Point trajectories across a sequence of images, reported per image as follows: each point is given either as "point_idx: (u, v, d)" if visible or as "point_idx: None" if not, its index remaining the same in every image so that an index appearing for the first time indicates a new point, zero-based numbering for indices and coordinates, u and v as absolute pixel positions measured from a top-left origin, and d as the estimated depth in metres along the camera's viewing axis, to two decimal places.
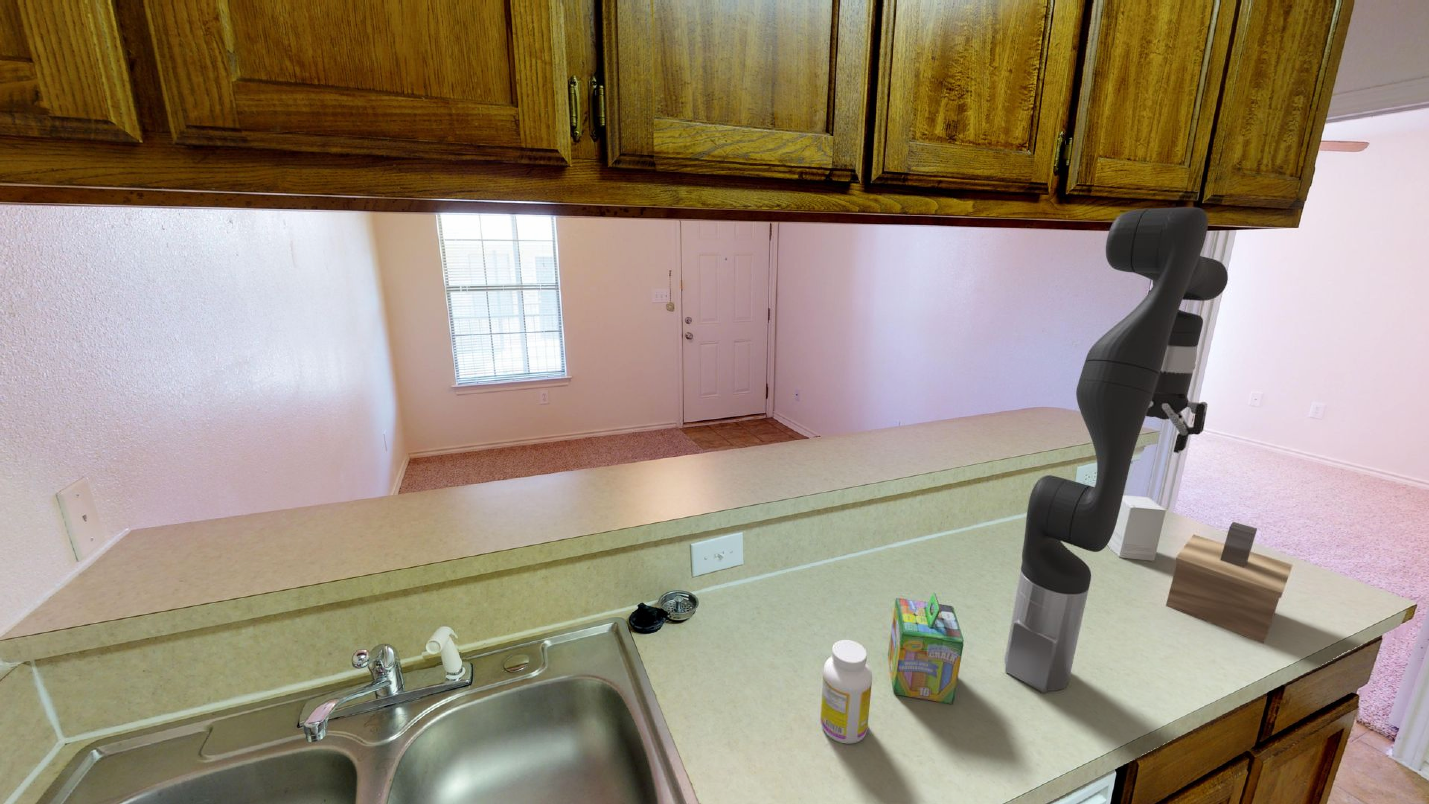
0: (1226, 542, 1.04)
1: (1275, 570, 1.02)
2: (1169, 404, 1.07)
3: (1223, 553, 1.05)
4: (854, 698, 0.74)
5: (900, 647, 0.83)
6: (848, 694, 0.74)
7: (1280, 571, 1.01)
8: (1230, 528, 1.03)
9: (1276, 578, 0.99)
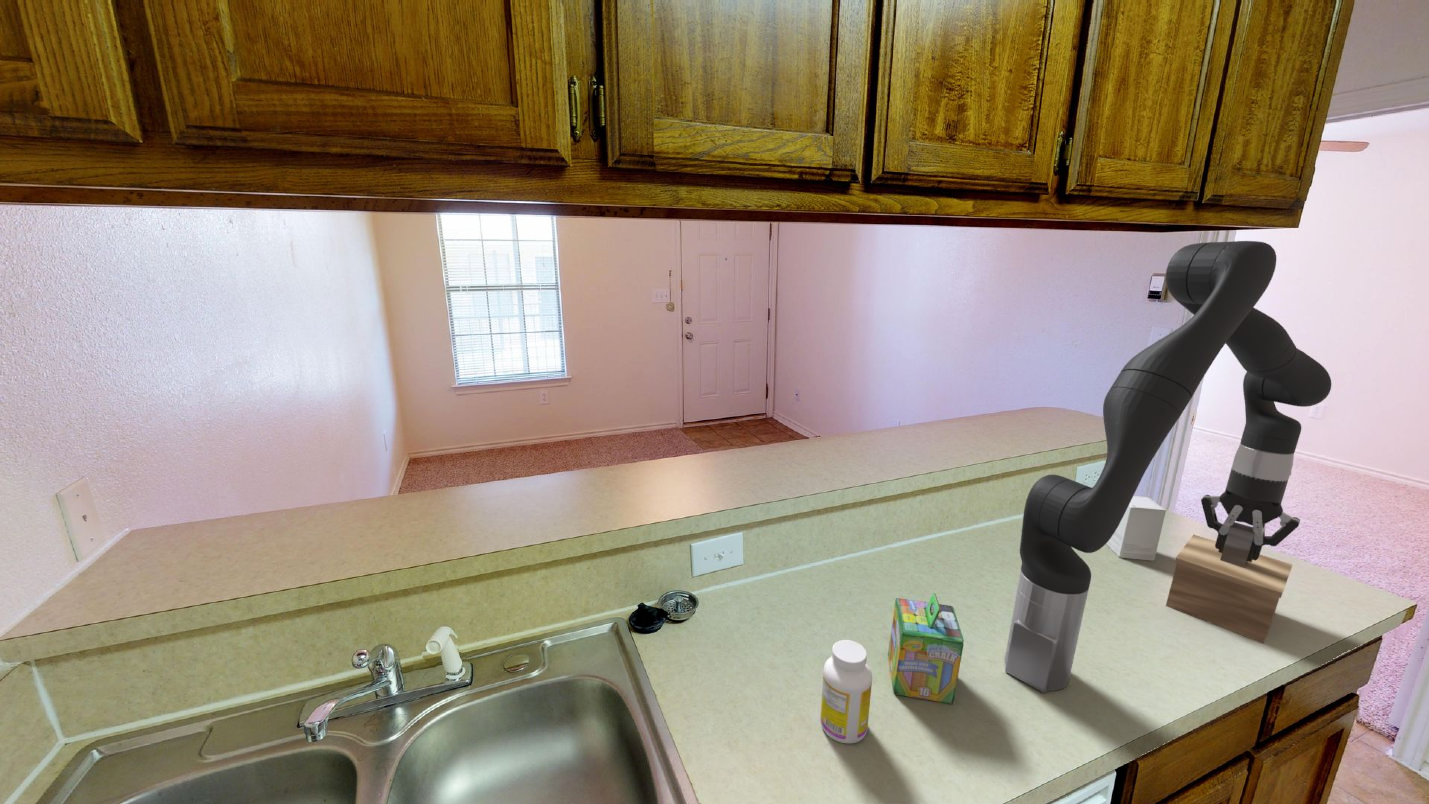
0: (1226, 542, 1.04)
1: (1275, 570, 1.02)
2: (1262, 512, 1.00)
3: (1223, 553, 1.05)
4: (854, 698, 0.74)
5: (900, 647, 0.83)
6: (848, 694, 0.74)
7: (1280, 571, 1.01)
8: (1230, 528, 1.03)
9: (1276, 578, 0.99)
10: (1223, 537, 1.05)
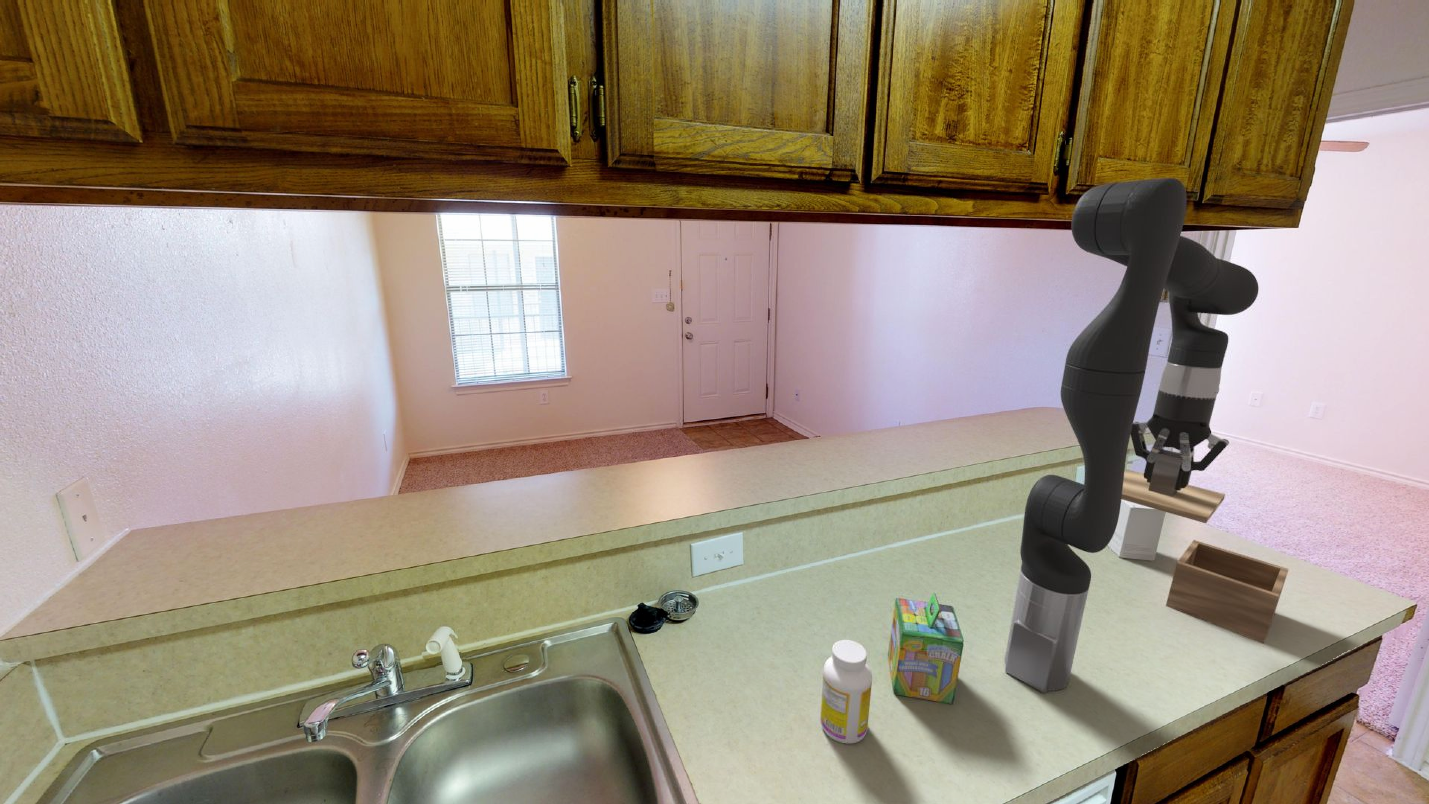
0: (1154, 470, 0.97)
1: (1205, 499, 0.95)
2: (1189, 435, 0.92)
3: (1151, 482, 0.97)
4: (854, 698, 0.74)
5: (900, 647, 0.83)
6: (848, 694, 0.74)
7: (1210, 500, 0.94)
8: (1158, 454, 0.96)
9: (1204, 505, 0.92)
10: (1151, 465, 0.97)
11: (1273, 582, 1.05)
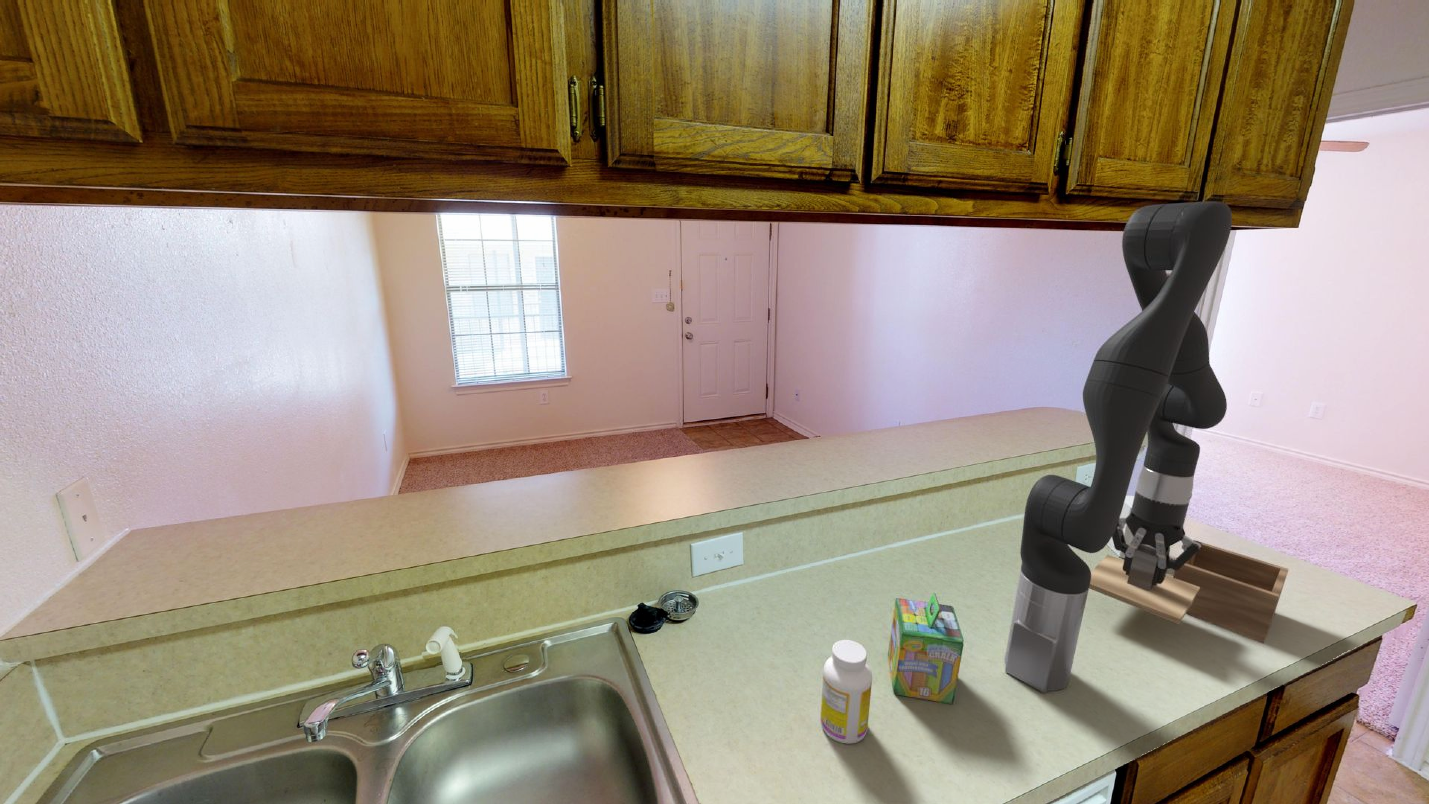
0: (1132, 565, 1.02)
1: (1180, 594, 1.00)
2: (1164, 536, 0.97)
3: (1129, 576, 1.02)
4: (854, 698, 0.74)
5: (900, 647, 0.83)
6: (848, 694, 0.74)
7: (1185, 595, 0.99)
8: (1135, 551, 1.01)
9: (1179, 603, 0.97)
10: (1129, 560, 1.02)
11: (1273, 582, 1.05)
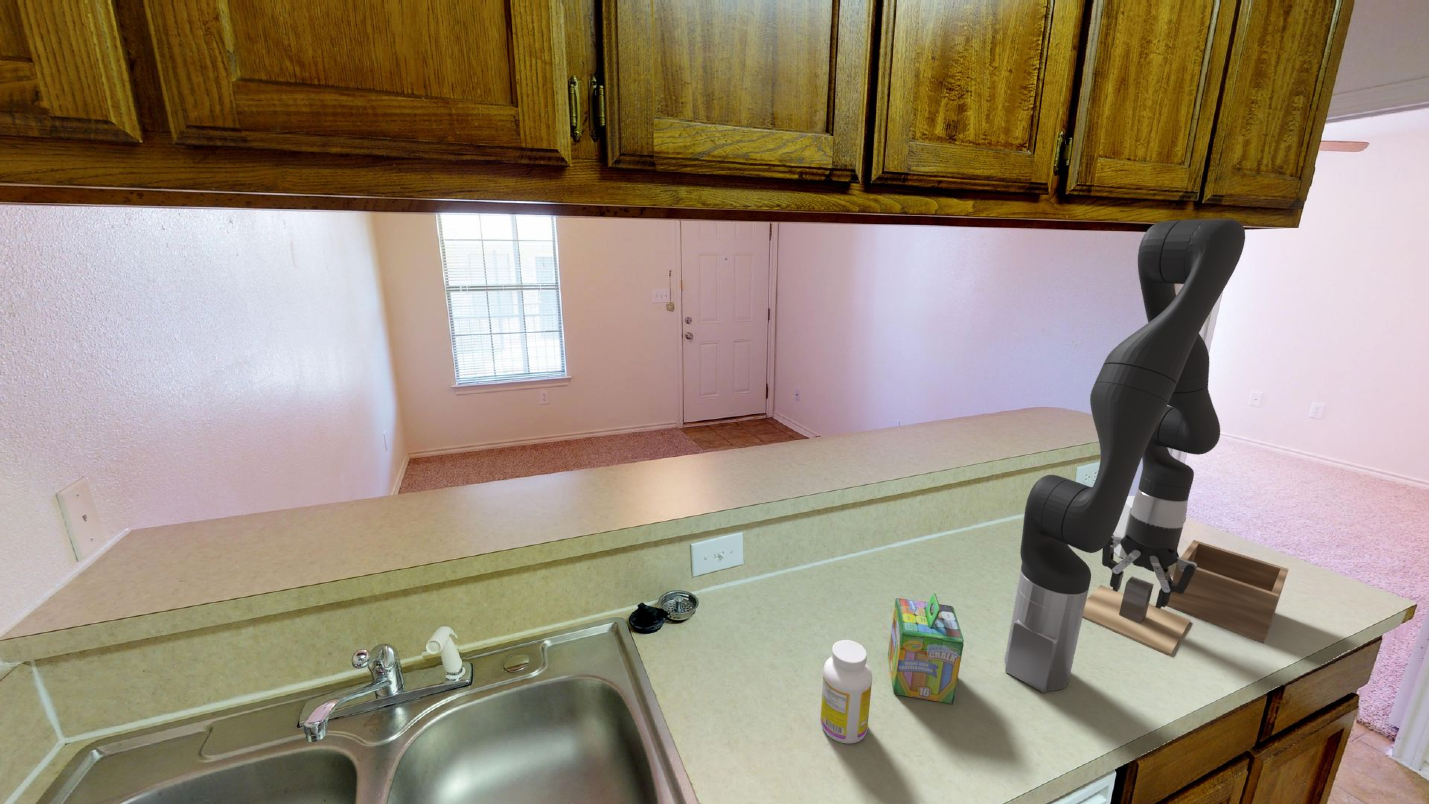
0: (1123, 597, 1.04)
1: (1171, 627, 1.01)
2: (1158, 558, 0.99)
3: (1121, 608, 1.04)
4: (854, 698, 0.74)
5: (900, 647, 0.83)
6: (848, 694, 0.74)
7: (1176, 628, 1.01)
8: (1127, 584, 1.03)
9: (1169, 636, 0.99)
10: (1116, 576, 1.04)
11: (1273, 582, 1.05)
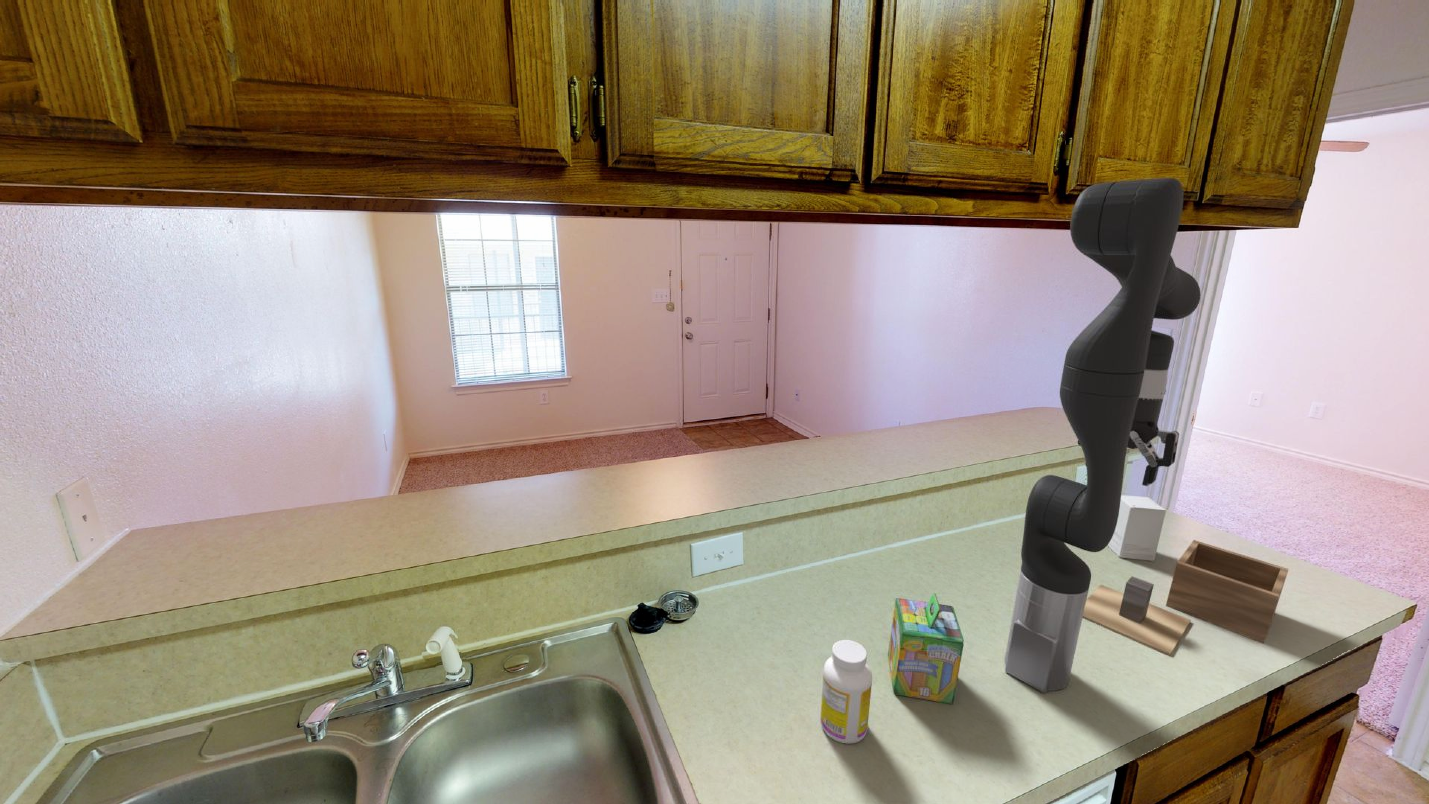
0: (1123, 597, 1.03)
1: (1171, 627, 1.01)
2: (1137, 432, 0.97)
3: (1121, 608, 1.04)
4: (854, 698, 0.74)
5: (900, 647, 0.83)
6: (848, 694, 0.74)
7: (1176, 628, 1.01)
8: (1127, 584, 1.03)
9: (1169, 636, 0.99)
10: None
11: (1273, 582, 1.05)
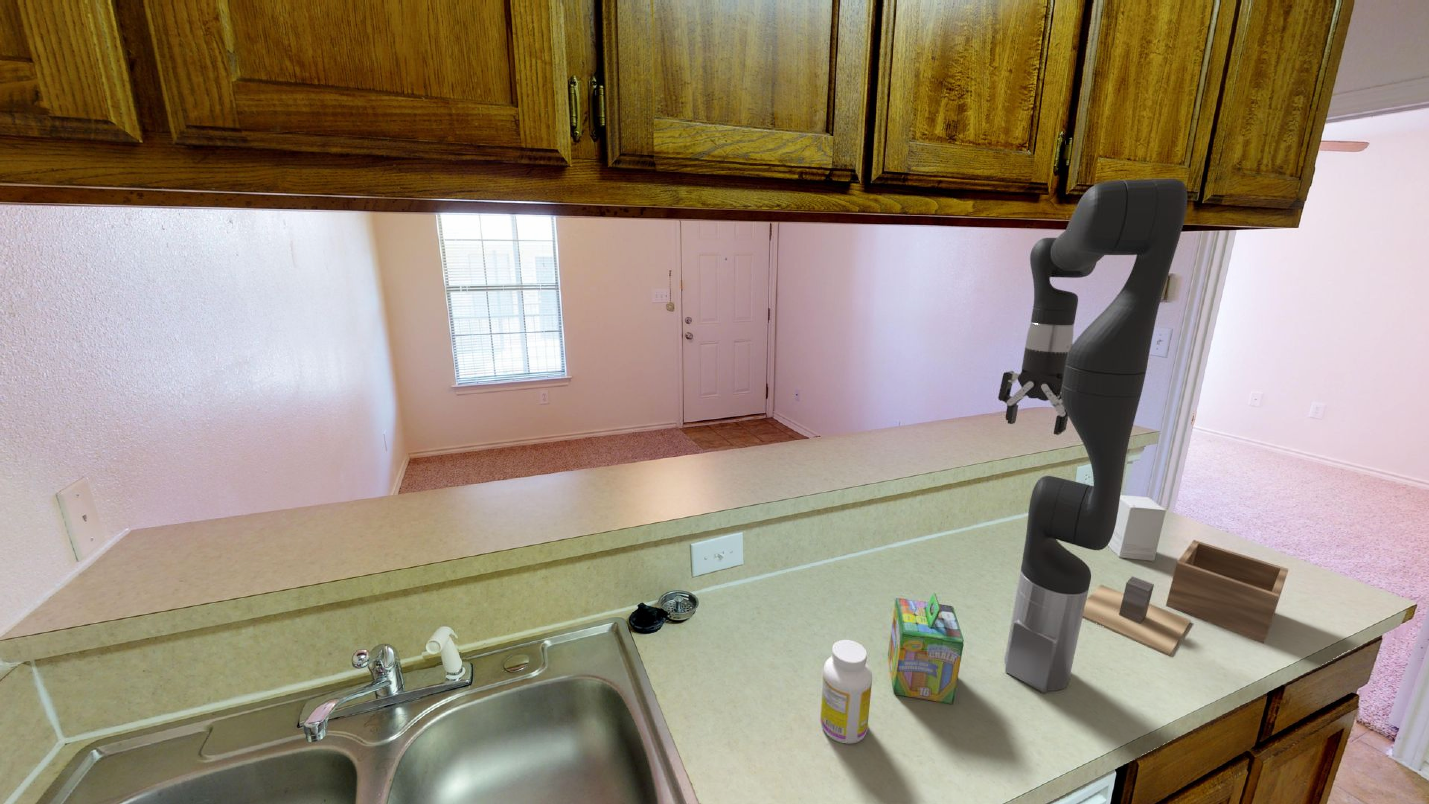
0: (1124, 597, 1.03)
1: (1171, 627, 1.01)
2: (1048, 385, 1.04)
3: (1121, 608, 1.04)
4: (854, 698, 0.74)
5: (900, 647, 0.83)
6: (848, 694, 0.74)
7: (1176, 628, 1.01)
8: (1127, 584, 1.03)
9: (1169, 636, 0.99)
10: (1010, 408, 1.11)
11: (1273, 582, 1.05)
